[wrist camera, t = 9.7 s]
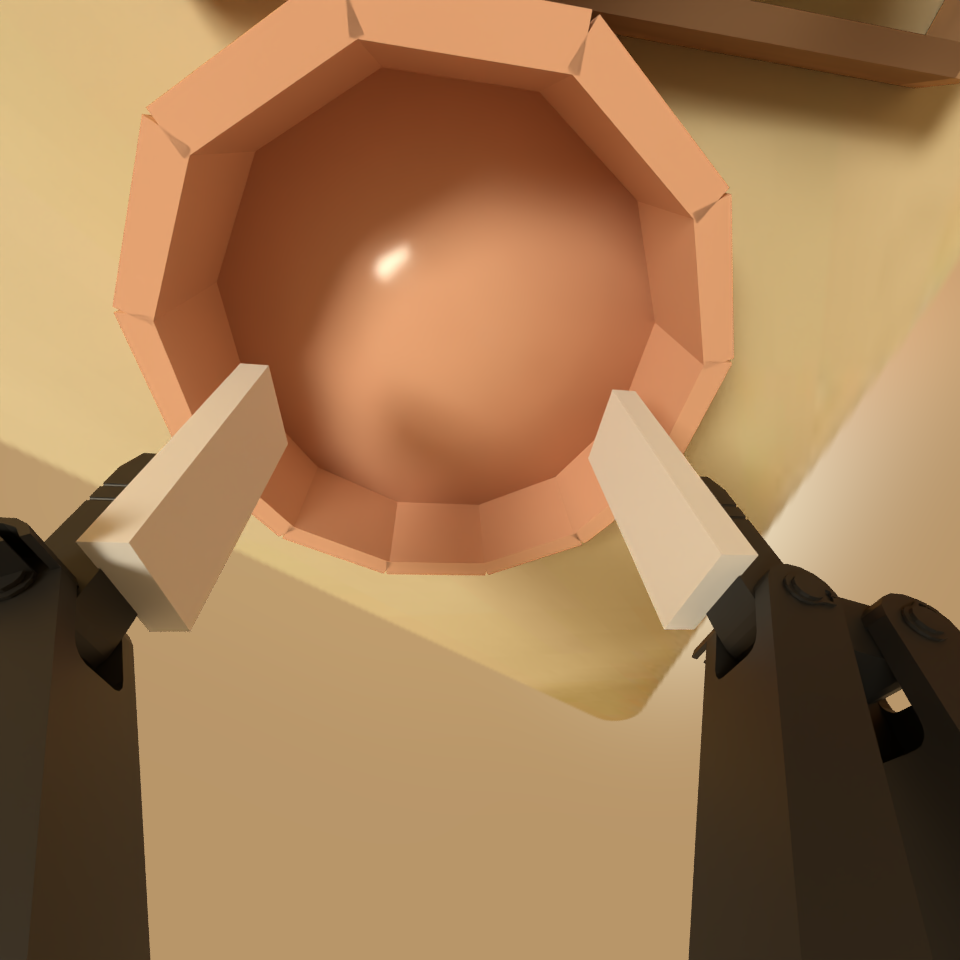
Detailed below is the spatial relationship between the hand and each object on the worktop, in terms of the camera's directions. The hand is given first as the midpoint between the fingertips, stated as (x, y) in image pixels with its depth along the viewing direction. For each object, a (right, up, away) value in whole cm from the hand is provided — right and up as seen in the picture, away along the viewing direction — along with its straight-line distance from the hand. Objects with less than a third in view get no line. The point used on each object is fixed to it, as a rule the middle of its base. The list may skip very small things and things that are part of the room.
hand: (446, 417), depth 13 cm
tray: (+5, +19, -9) cm, 22 cm away
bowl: (0, +3, +4) cm, 5 cm away
